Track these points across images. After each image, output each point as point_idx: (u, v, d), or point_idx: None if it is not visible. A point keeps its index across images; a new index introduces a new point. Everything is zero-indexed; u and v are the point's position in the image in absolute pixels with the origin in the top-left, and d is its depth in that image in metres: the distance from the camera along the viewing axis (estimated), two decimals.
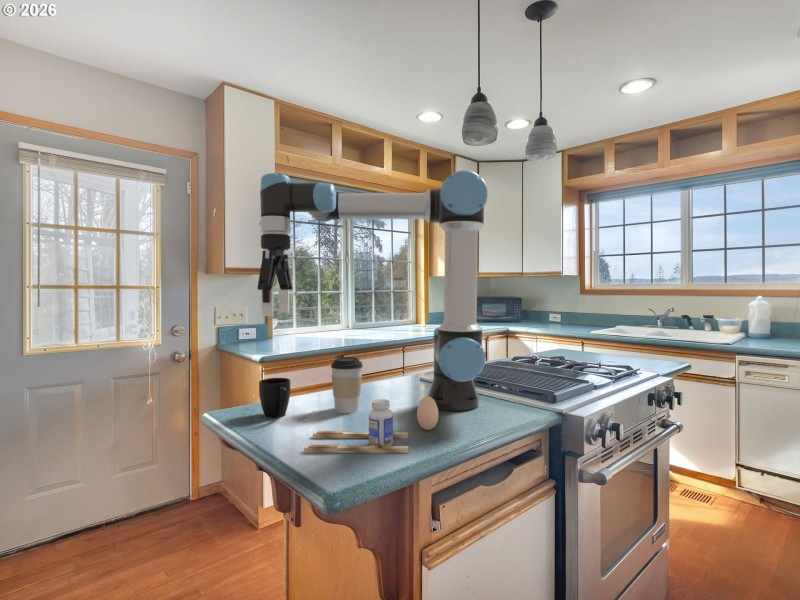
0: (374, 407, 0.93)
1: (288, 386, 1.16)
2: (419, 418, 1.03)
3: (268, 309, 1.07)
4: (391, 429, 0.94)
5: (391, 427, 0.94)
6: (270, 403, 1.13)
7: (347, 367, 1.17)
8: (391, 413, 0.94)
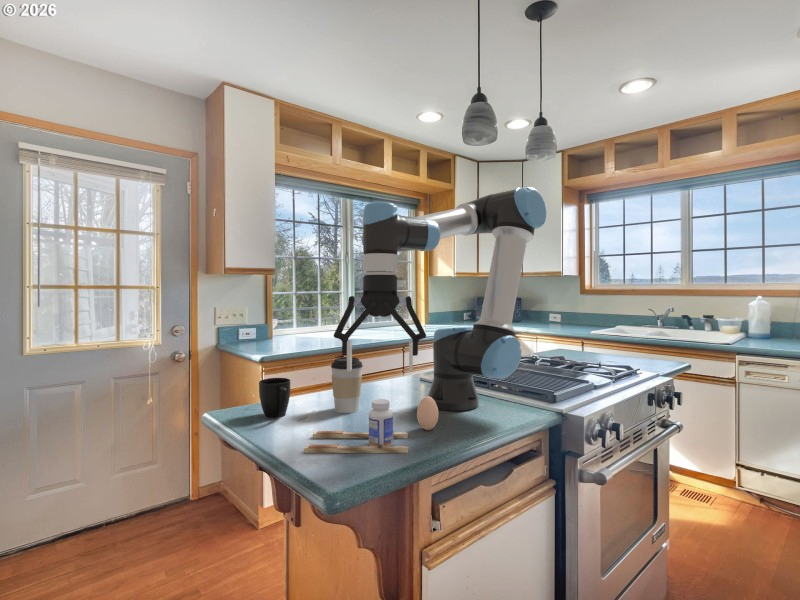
0: (374, 407, 0.93)
1: (288, 386, 1.16)
2: (419, 418, 1.03)
3: None
4: (391, 429, 0.94)
5: (391, 427, 0.94)
6: (270, 403, 1.13)
7: None
8: (391, 413, 0.94)
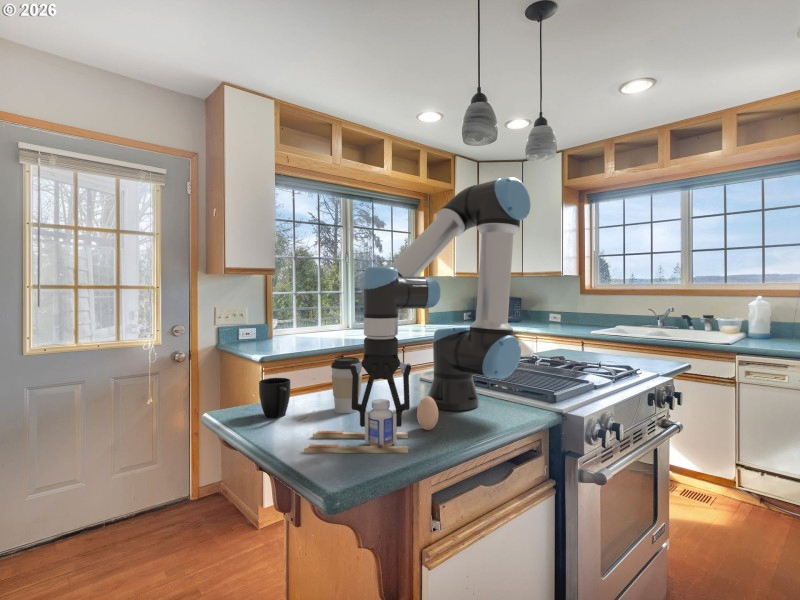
0: (374, 407, 0.93)
1: (288, 386, 1.16)
2: (419, 418, 1.03)
3: None
4: (391, 429, 0.94)
5: (391, 427, 0.94)
6: (270, 403, 1.13)
7: (347, 367, 1.17)
8: (391, 413, 0.94)
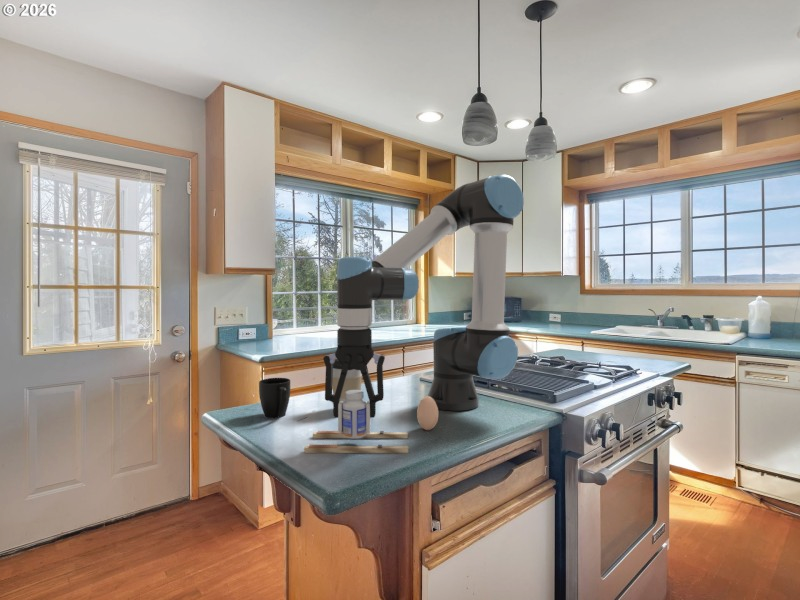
0: (347, 398, 0.93)
1: (288, 386, 1.16)
2: (419, 418, 1.03)
3: None
4: (364, 419, 0.94)
5: (364, 418, 0.94)
6: (270, 403, 1.13)
7: None
8: (365, 404, 0.94)
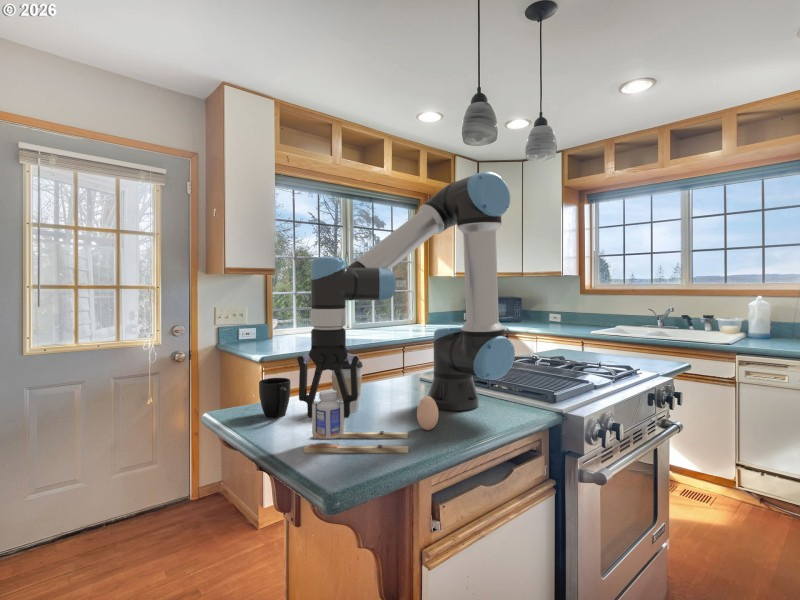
0: (321, 398, 0.93)
1: (288, 386, 1.16)
2: (419, 418, 1.03)
3: None
4: (338, 420, 0.94)
5: (338, 418, 0.94)
6: (270, 403, 1.13)
7: (347, 367, 1.17)
8: (339, 404, 0.94)
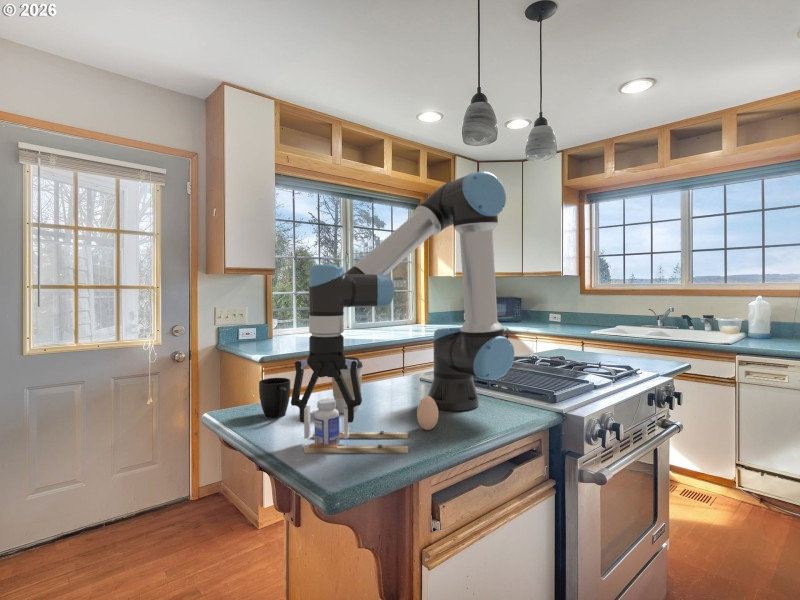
0: (319, 407, 0.93)
1: (288, 386, 1.16)
2: (419, 418, 1.03)
3: None
4: (336, 429, 0.94)
5: (336, 427, 0.94)
6: (270, 403, 1.13)
7: None
8: (336, 413, 0.94)
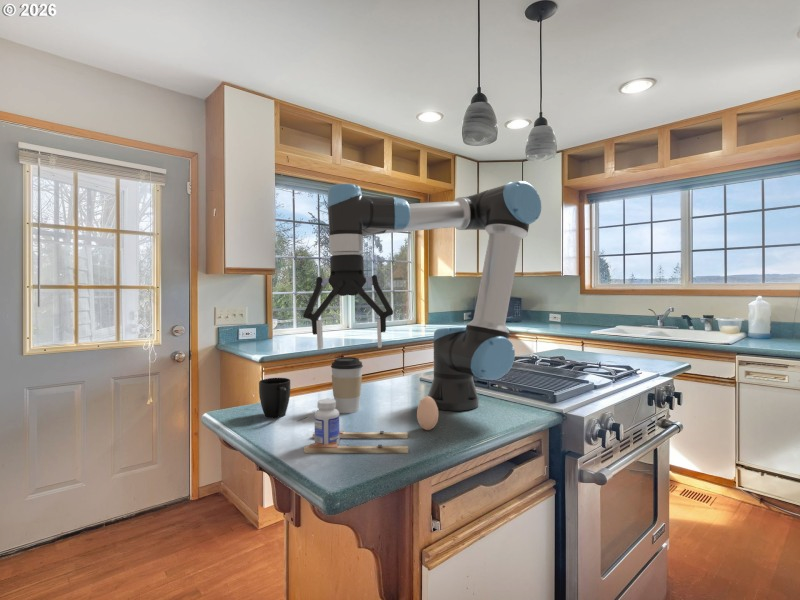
0: (319, 407, 0.93)
1: (288, 386, 1.16)
2: (419, 418, 1.03)
3: None
4: (336, 429, 0.94)
5: (336, 427, 0.94)
6: (270, 403, 1.13)
7: (347, 367, 1.17)
8: (337, 413, 0.94)
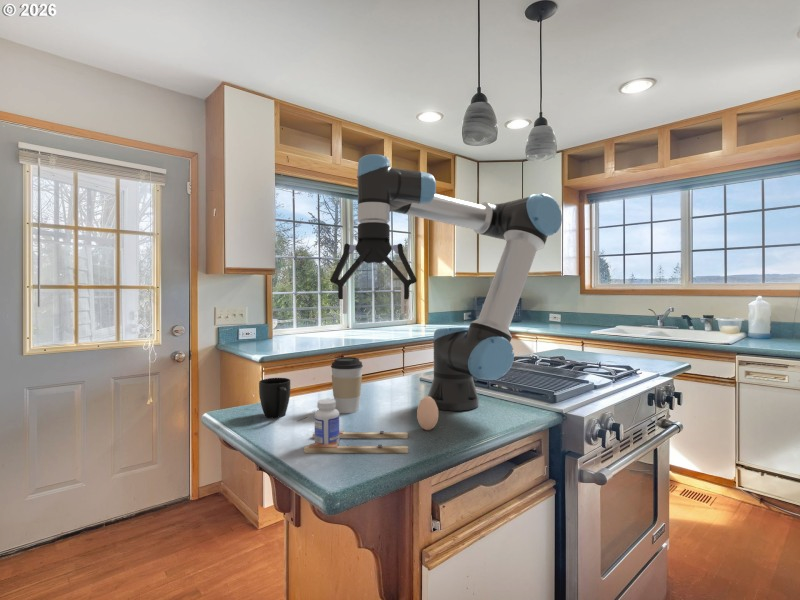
0: (319, 407, 0.93)
1: (288, 386, 1.16)
2: (419, 418, 1.03)
3: None
4: (336, 429, 0.94)
5: (336, 427, 0.94)
6: (270, 403, 1.13)
7: (347, 367, 1.17)
8: (337, 413, 0.94)
